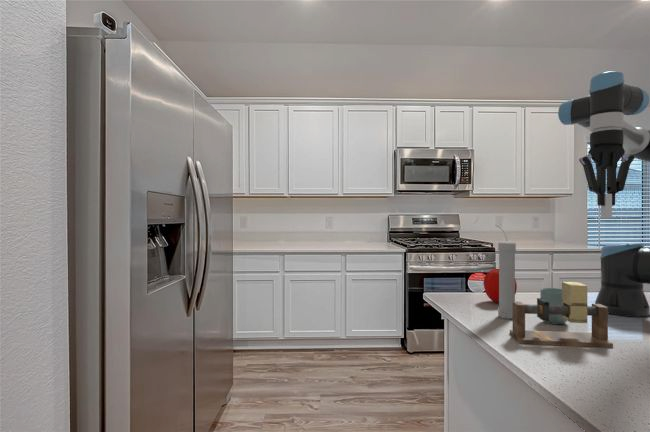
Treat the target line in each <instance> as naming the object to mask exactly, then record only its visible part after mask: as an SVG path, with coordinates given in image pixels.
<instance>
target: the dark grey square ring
mask: <svg viewBox="0 0 650 432" xmlns="http://www.w3.org/2000/svg"><path fill="white" fill-rule="evenodd" d="M536 305H543V314H536V317H537V318H538V319H540V320H541V321H543V322H546V321H549V302H548V301H546V300H544V299H542V298H540V297H539V298H536Z"/></svg>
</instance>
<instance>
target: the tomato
mask: <svg viewBox="0 0 650 432" xmlns="http://www.w3.org/2000/svg"><path fill="white" fill-rule="evenodd" d="M483 288H484V289H483V290H484V292H485V294H486V296H487V297H488V298H489V300H490V301H493V303H498V304H499V268H494V267H493V268H492V269H490V271H488V272H487V273H486V274H485V276H484V278H483ZM517 288H518V287H517V280H516V279H515V295H516V294H517Z"/></svg>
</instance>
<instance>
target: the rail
mask: <svg viewBox="0 0 650 432" xmlns="http://www.w3.org/2000/svg"><path fill="white" fill-rule="evenodd" d="M526 314H527V315H528V314H529V315H537V314H543V305H537V304H524V303H523V302H521V301H515V302H513V319H512V329H509V335H511V336H512V337H513V338H514V339H515V341H517V342H518V343H519V344H520V345H521V344H522V345H544V346H545V345H546V346H566V347H567V346H570V347H572V346H573V347H589V346H591V347H592V348H593V347H595V348H596V347H598V348H614V343H613V342H611V341H610V340H609V313H608V307H606V306H603V305H601V304H595V303H591V306H590V305H589V306H588V305H587V317H588V316H591V332H579V331H577V332H576V331H554V330H553V331H551V330H550V331H549V330H526ZM549 314H554V315H569V306H561V305H549Z"/></svg>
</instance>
